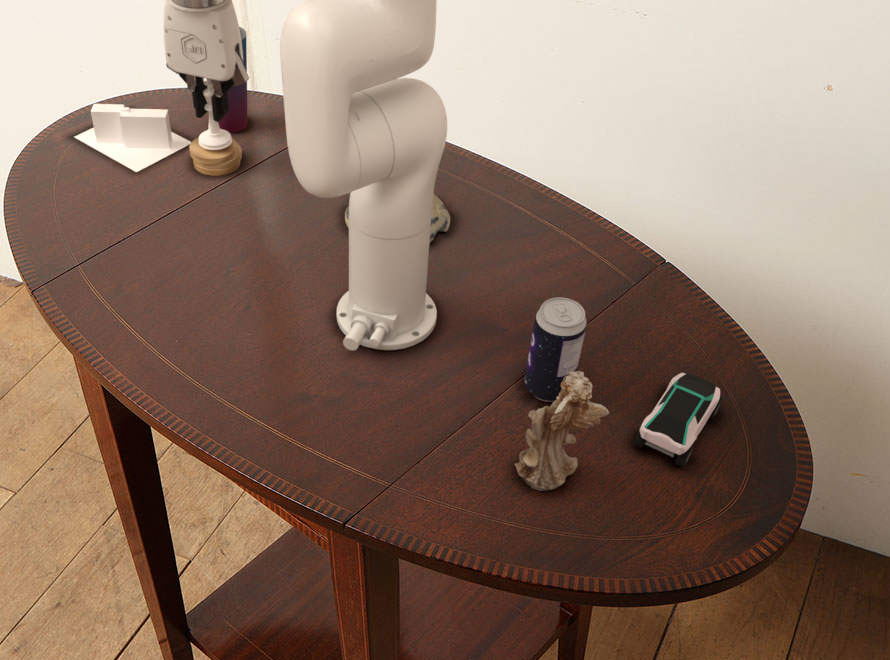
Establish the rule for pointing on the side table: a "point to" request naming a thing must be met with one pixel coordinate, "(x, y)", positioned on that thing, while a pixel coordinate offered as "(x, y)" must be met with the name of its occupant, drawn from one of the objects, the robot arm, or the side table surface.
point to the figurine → (558, 433)
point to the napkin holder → (132, 135)
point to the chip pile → (215, 158)
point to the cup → (237, 100)
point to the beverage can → (554, 346)
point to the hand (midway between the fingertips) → (212, 114)
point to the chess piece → (213, 126)
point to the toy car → (680, 416)
